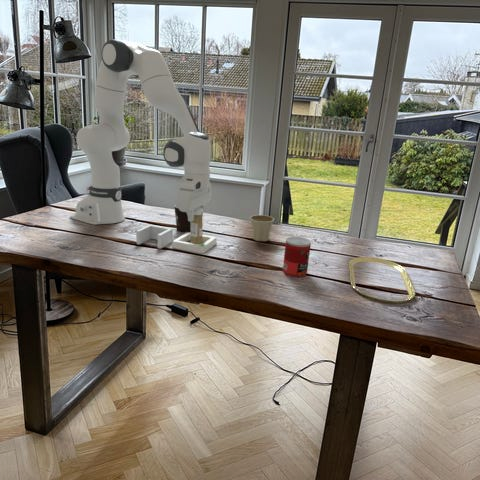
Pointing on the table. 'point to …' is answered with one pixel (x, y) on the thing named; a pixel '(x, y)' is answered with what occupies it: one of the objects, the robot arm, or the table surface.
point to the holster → (155, 235)
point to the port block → (184, 245)
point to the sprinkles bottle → (197, 226)
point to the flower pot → (261, 227)
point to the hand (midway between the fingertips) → (195, 218)
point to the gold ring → (392, 264)
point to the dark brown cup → (182, 221)
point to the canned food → (296, 256)
